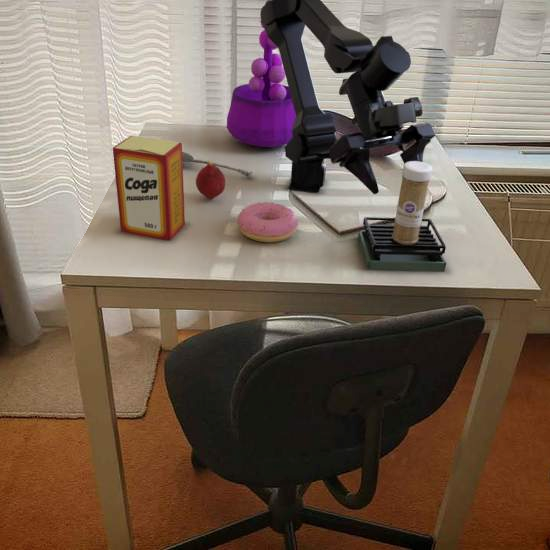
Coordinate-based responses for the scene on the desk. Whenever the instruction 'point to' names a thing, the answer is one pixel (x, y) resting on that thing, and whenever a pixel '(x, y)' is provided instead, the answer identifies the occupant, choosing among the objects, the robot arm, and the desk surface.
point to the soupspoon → (189, 158)
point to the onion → (210, 181)
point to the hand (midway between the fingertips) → (398, 188)
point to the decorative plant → (263, 103)
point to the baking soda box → (150, 186)
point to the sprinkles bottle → (411, 202)
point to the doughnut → (267, 222)
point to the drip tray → (398, 259)
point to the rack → (384, 244)
